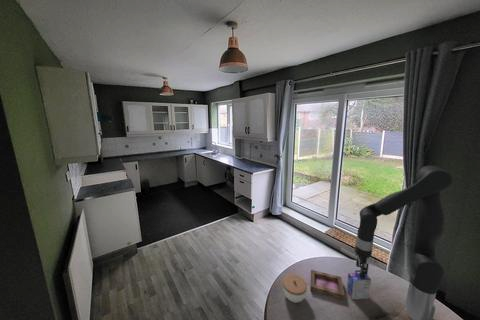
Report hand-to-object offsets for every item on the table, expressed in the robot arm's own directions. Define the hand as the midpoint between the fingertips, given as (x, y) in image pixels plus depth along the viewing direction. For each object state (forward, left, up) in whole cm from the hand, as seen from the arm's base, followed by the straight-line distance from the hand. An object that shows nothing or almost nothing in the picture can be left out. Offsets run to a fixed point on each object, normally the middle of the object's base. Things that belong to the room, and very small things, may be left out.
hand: (360, 271), depth 103 cm
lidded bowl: (+33, +13, -15) cm, 38 cm away
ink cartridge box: (0, 0, -15) cm, 15 cm away
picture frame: (+16, 0, -15) cm, 22 cm away
